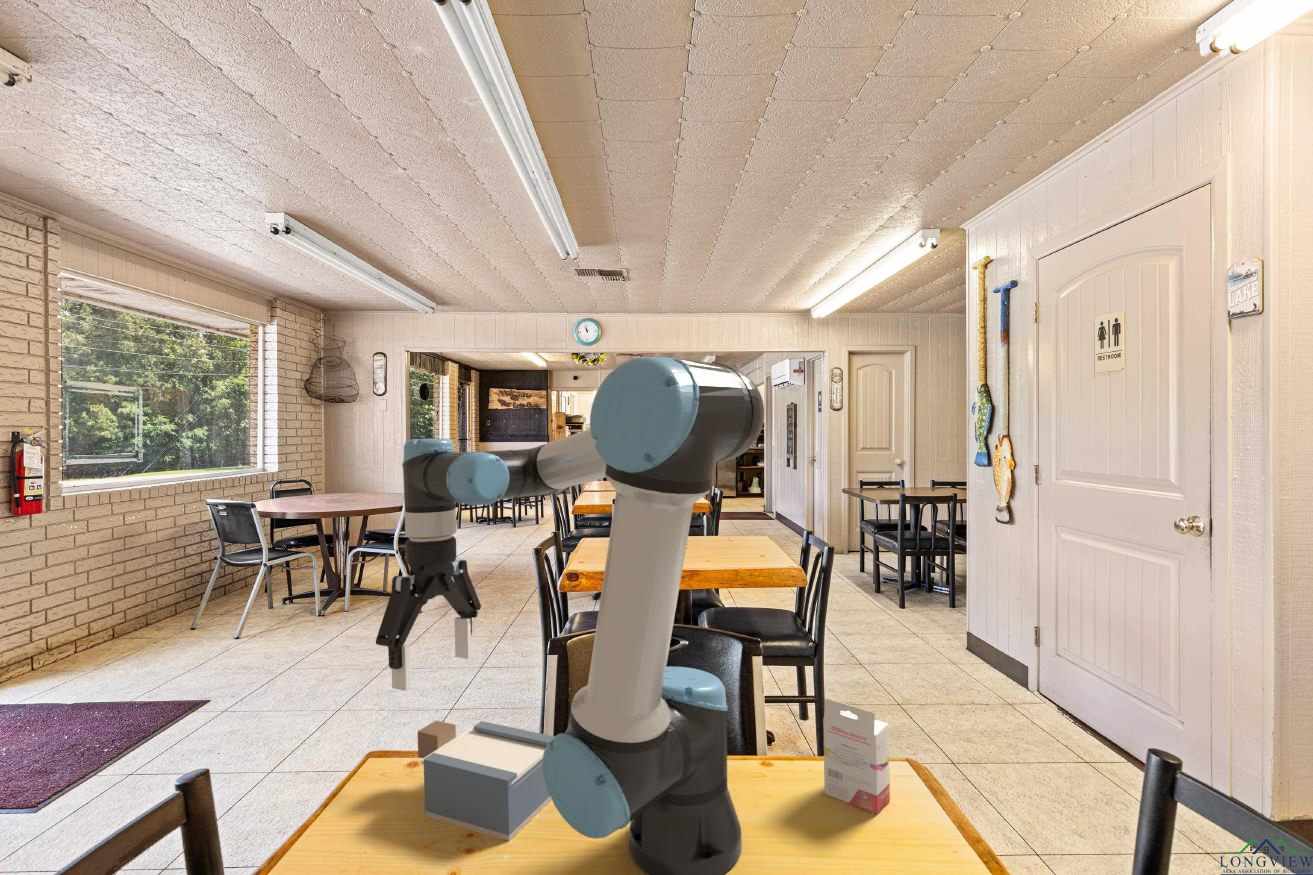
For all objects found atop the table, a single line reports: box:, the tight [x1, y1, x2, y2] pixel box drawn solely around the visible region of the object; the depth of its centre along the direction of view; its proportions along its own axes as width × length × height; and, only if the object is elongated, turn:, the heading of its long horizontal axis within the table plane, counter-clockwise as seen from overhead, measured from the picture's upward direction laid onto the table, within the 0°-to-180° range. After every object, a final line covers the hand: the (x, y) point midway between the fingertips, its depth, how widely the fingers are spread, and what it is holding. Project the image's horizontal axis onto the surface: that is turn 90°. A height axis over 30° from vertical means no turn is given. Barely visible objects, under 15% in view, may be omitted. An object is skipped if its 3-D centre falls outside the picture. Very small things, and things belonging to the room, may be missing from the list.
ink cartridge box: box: [822, 697, 891, 815], centre depth 96 cm, size 9×5×15 cm, turn 47°
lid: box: [417, 720, 546, 785], centre depth 98 cm, size 20×11×4 cm, turn 66°
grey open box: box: [423, 720, 556, 842], centre depth 96 cm, size 15×13×8 cm
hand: (434, 672), depth 101 cm, fingers open, 13 cm apart
